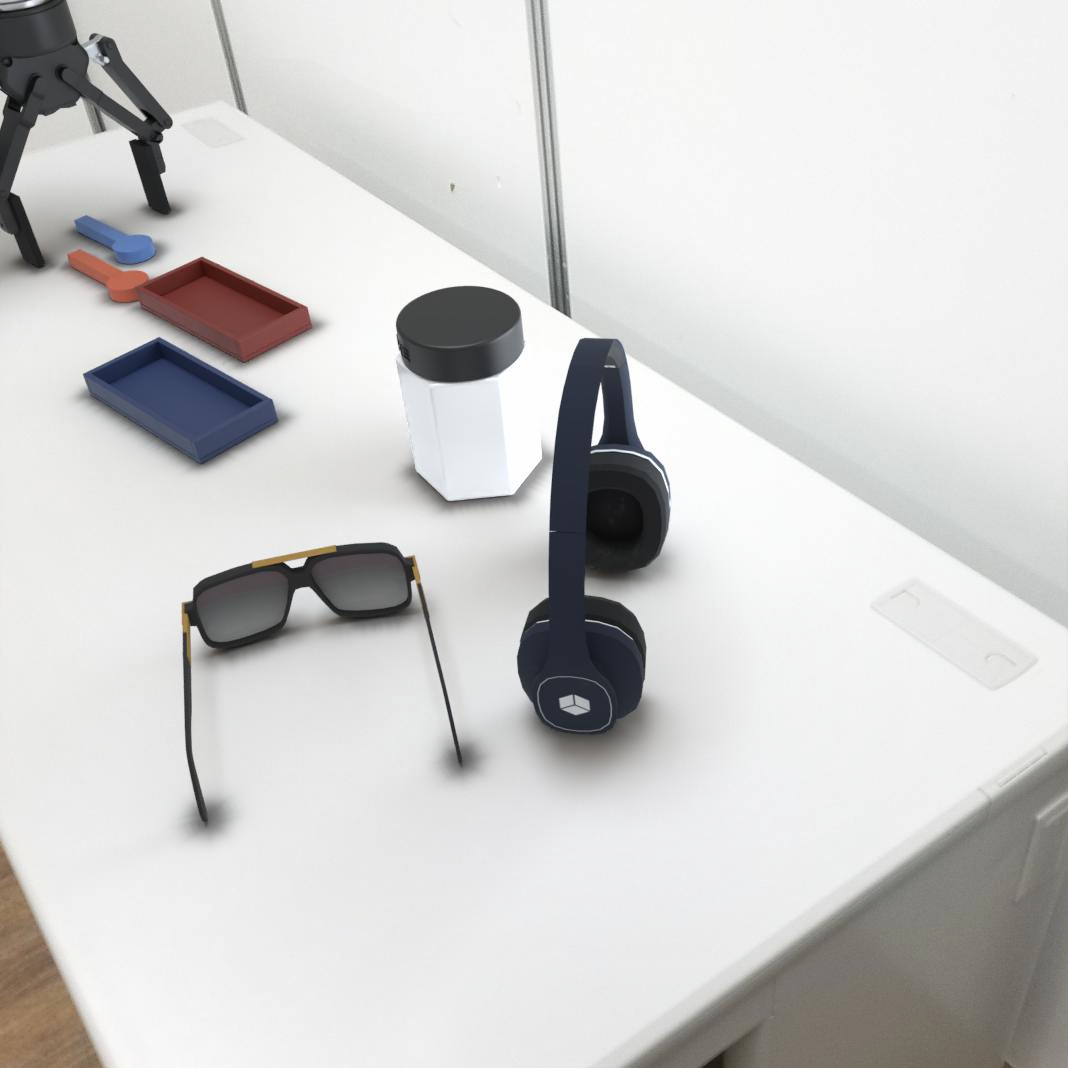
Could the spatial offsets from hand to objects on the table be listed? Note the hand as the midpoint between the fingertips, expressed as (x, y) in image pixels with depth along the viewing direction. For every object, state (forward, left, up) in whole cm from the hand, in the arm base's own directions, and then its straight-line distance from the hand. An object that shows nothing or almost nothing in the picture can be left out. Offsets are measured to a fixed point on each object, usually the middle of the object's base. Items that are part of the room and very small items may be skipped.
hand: (99, 234), depth 118 cm
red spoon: (+5, -8, 0) cm, 10 cm away
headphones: (+58, -46, 0) cm, 74 cm away
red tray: (+19, -13, 0) cm, 23 cm away
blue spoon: (+2, -1, 0) cm, 3 cm away
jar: (+46, -31, 0) cm, 56 cm away
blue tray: (+21, -27, 0) cm, 34 cm away
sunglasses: (+43, -54, 0) cm, 69 cm away
